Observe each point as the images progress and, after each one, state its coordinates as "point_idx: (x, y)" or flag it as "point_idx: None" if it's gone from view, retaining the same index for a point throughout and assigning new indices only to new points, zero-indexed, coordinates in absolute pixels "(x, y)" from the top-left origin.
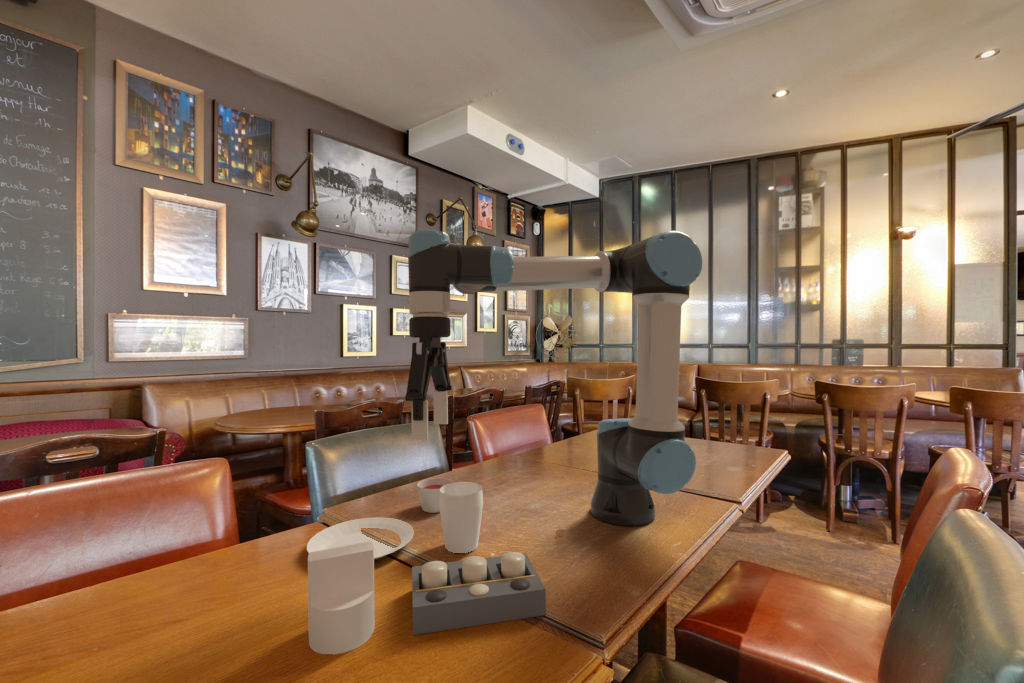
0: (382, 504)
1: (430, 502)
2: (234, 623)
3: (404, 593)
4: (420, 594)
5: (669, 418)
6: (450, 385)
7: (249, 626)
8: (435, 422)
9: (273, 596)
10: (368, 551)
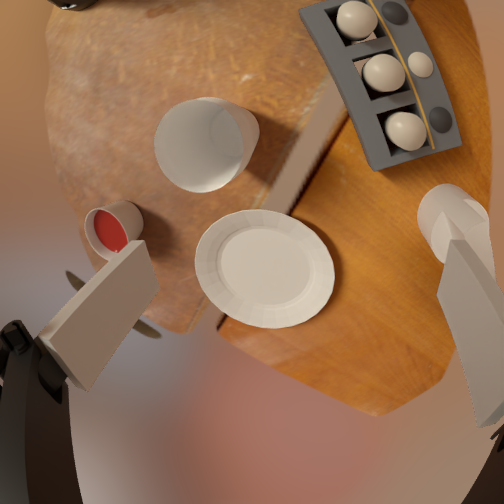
0: None
1: (136, 225)
2: (419, 312)
3: (375, 172)
4: (438, 141)
5: None
6: (2, 340)
7: (426, 299)
8: (154, 287)
9: (381, 306)
10: (486, 225)
